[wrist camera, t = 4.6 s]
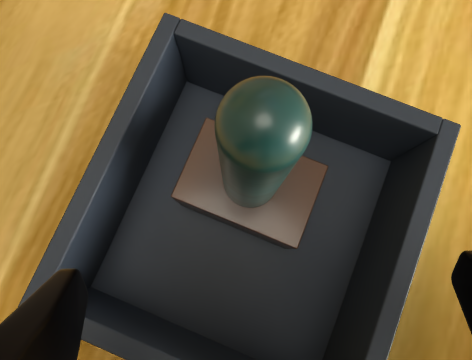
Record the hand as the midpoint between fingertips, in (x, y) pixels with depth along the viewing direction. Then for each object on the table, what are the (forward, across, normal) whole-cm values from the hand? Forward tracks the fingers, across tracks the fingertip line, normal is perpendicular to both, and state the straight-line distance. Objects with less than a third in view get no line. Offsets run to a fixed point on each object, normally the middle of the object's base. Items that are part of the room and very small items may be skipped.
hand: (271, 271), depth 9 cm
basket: (+9, 0, +6) cm, 11 cm away
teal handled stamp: (+10, 0, +5) cm, 11 cm away
